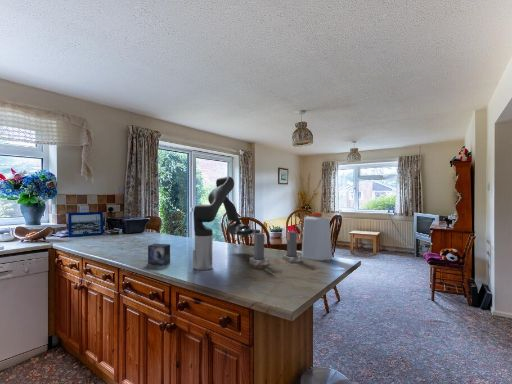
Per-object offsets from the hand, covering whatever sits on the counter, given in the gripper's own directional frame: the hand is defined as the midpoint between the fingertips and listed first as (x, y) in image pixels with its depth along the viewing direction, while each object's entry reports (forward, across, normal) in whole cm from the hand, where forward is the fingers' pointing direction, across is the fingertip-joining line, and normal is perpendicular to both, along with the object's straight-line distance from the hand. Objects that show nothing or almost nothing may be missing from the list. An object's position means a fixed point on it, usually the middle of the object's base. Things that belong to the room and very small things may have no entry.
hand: (252, 233), depth 160 cm
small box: (-14, -50, +17) cm, 55 cm away
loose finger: (+10, 0, +15) cm, 18 cm away
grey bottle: (+8, +39, +16) cm, 43 cm away
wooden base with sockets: (+10, +10, +16) cm, 22 cm away
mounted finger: (+10, +20, +15) cm, 27 cm away
